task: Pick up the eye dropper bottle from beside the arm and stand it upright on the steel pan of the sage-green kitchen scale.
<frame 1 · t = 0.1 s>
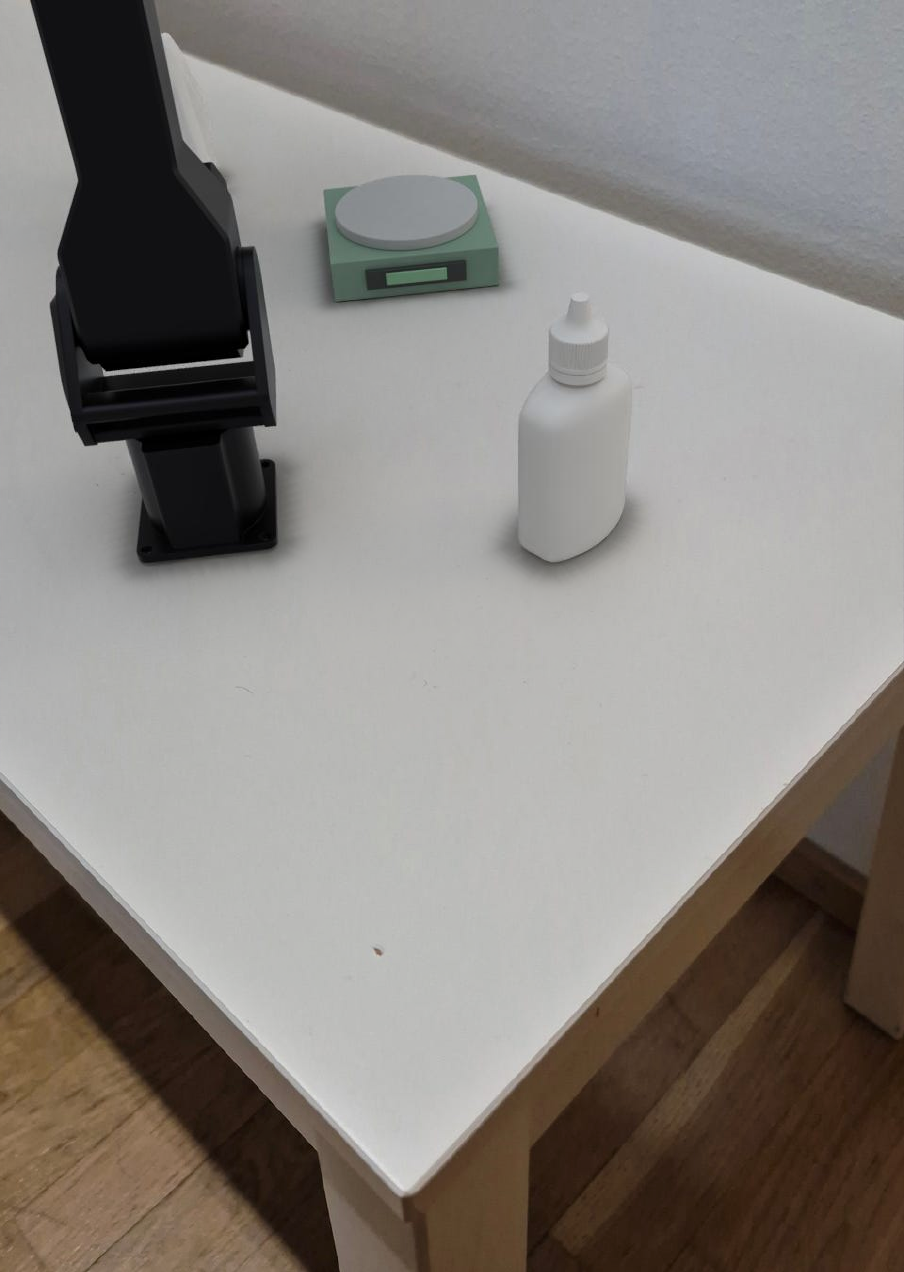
kitchen scale: (409, 254, 74), on the table
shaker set: (194, 208, 80), on the table
eye dropper bottle: (571, 532, 55), on the table
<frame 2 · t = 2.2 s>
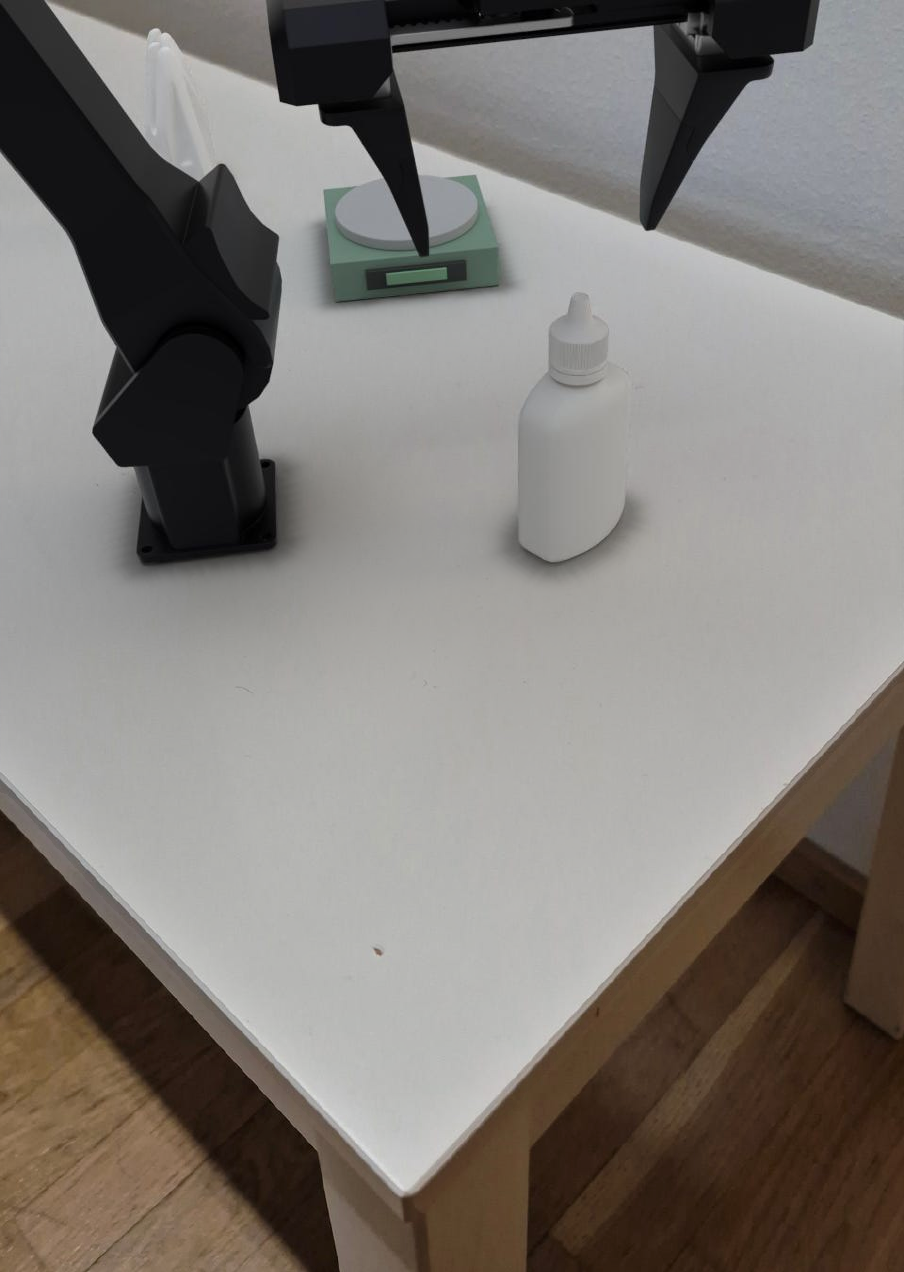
hand: (535, 239, 47), 13 cm above the table, tool pointing down, fingers open, 9 cm apart
nothing on the table moved.
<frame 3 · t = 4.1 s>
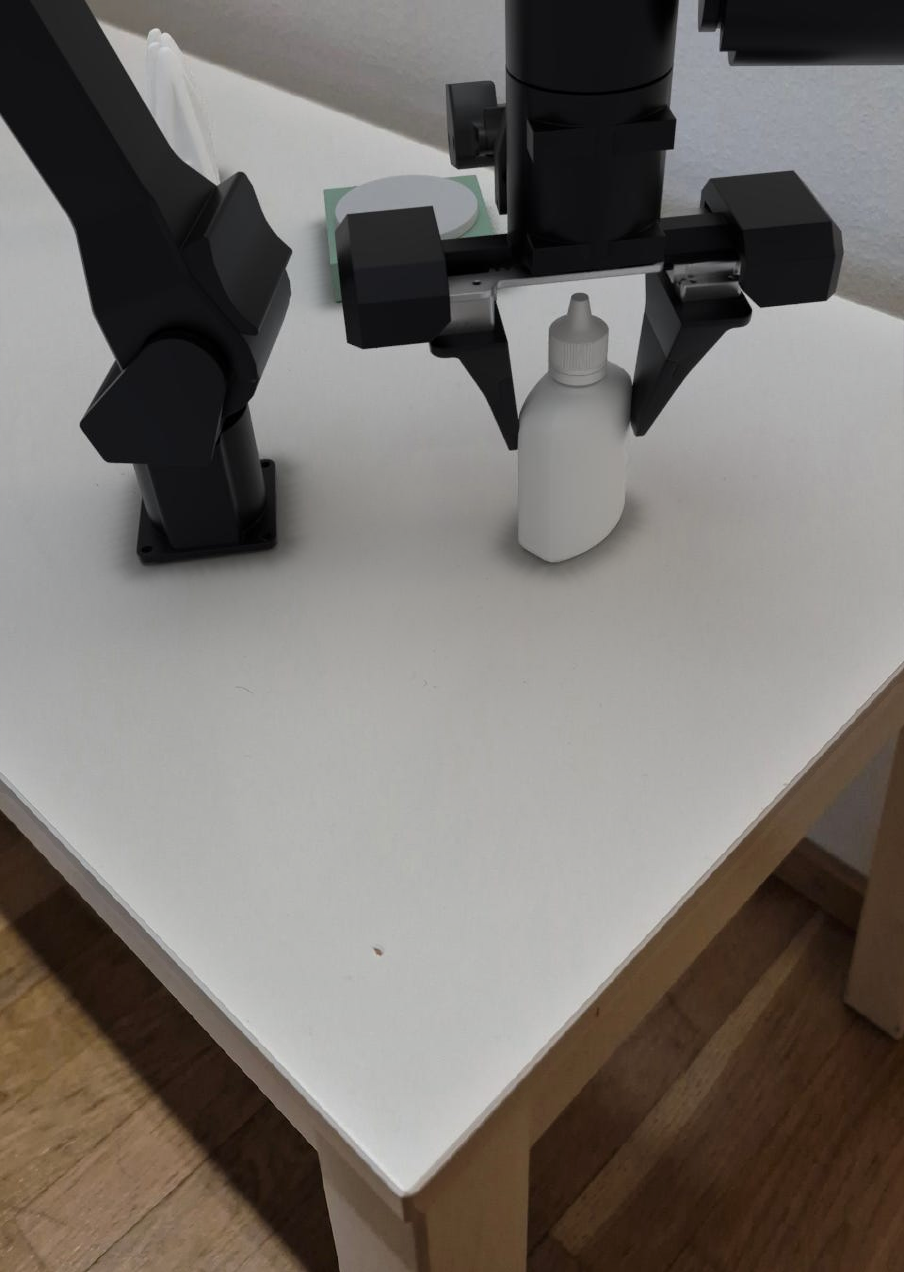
hand: (575, 437, 51), 5 cm above the table, tool pointing down, fingers closed on eye dropper bottle, 5 cm apart
eye dropper bottle: (571, 532, 55), on the table, touching gripper
everything else where it was.
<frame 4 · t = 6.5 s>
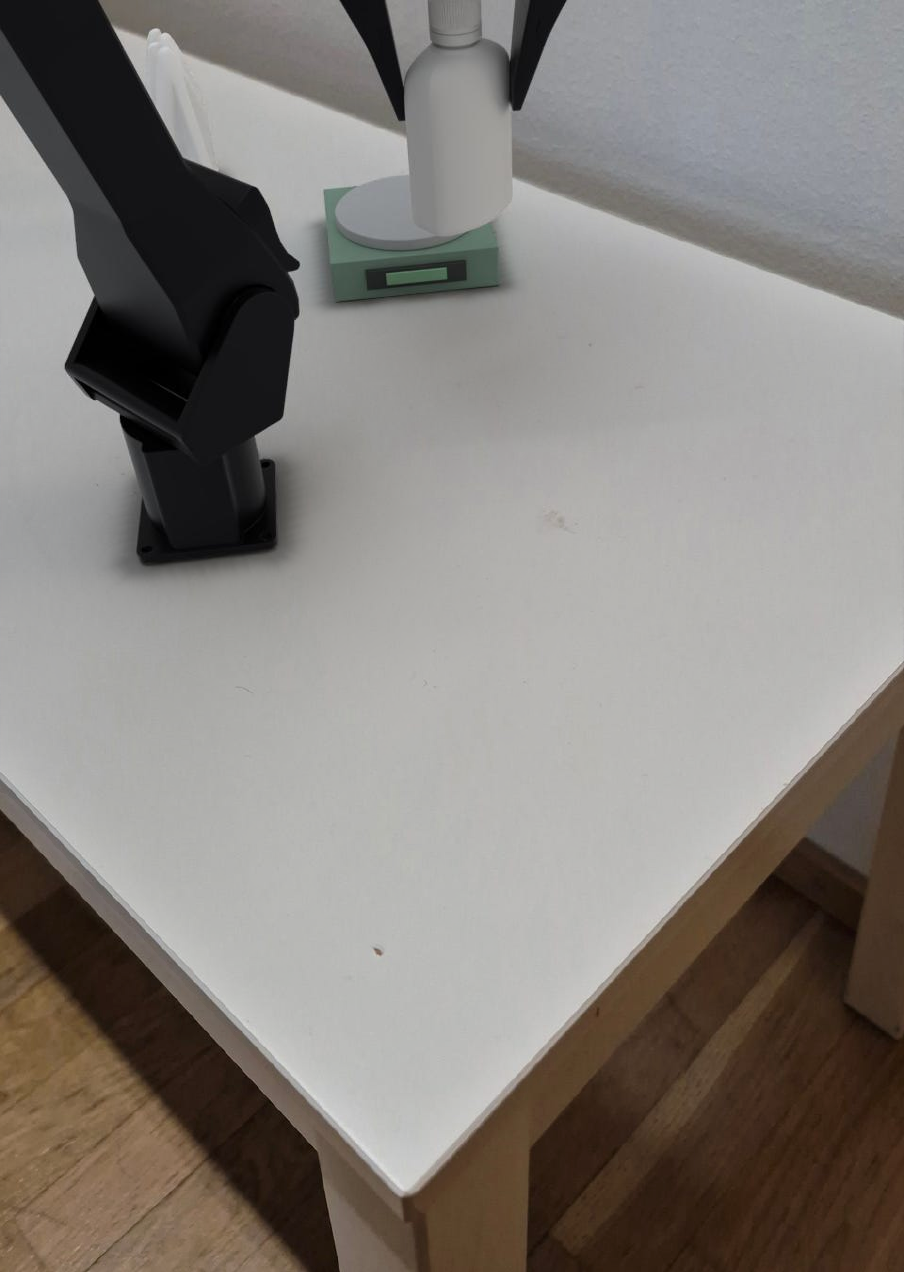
hand: (459, 112, 56), 13 cm above the table, tool pointing down, fingers closed on eye dropper bottle, 5 cm apart
eye dropper bottle: (463, 219, 60), point 8 cm above the table, touching gripper
everything else where it was.
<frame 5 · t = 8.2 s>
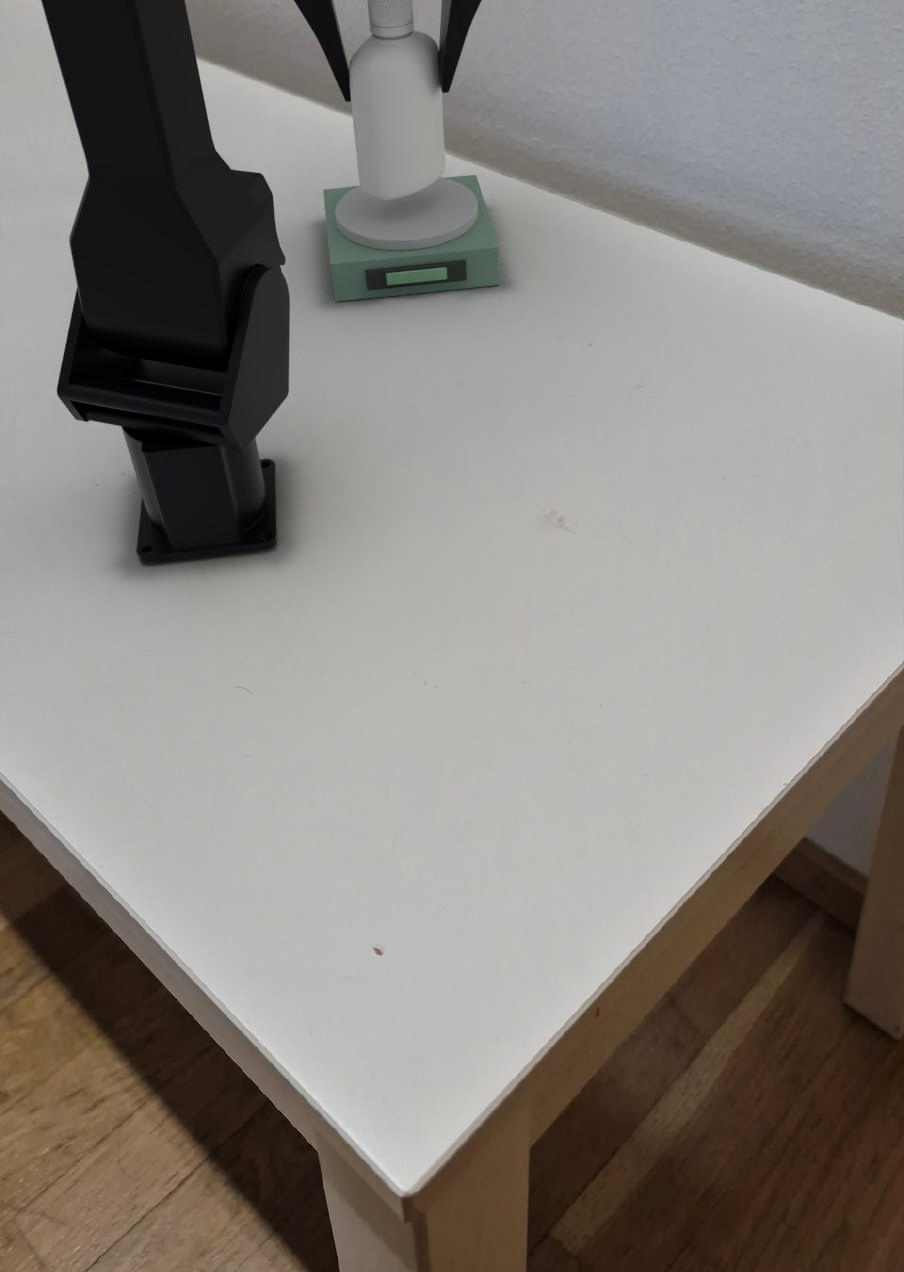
hand: (397, 94, 67), 10 cm above the table, tool pointing down, fingers closed on eye dropper bottle, 5 cm apart
eye dropper bottle: (403, 186, 70), point 4 cm above the table, touching gripper
everything else where it was.
when the fingers open (8 cm above the table, at t = 9.1 s): eye dropper bottle stays where it is, resting on kitchen scale.
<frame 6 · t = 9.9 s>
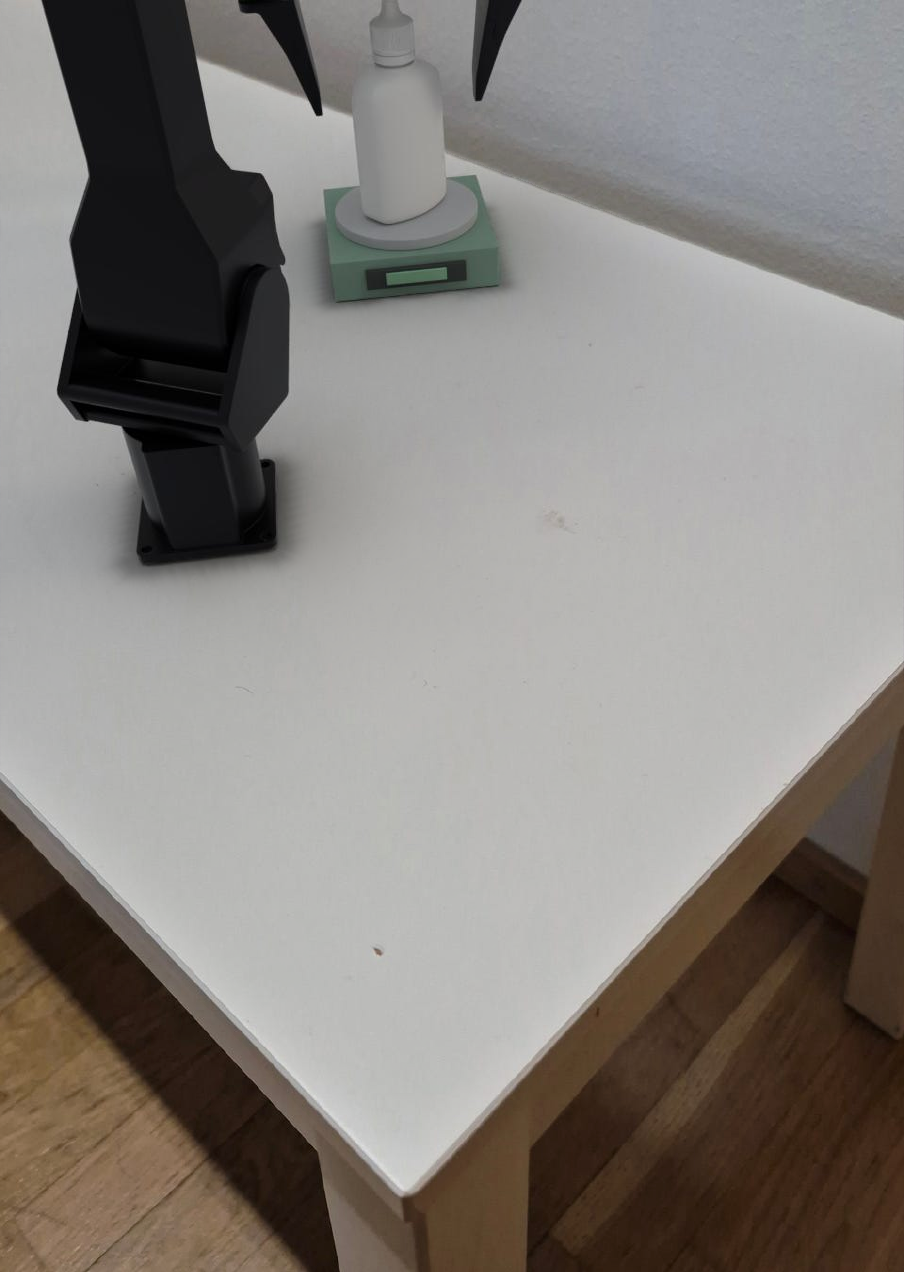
hand: (398, 106, 67), 9 cm above the table, tool pointing down, fingers open, 9 cm apart
eye dropper bottle: (405, 209, 72), point 3 cm above the table, touching kitchen scale
everything else where it was.
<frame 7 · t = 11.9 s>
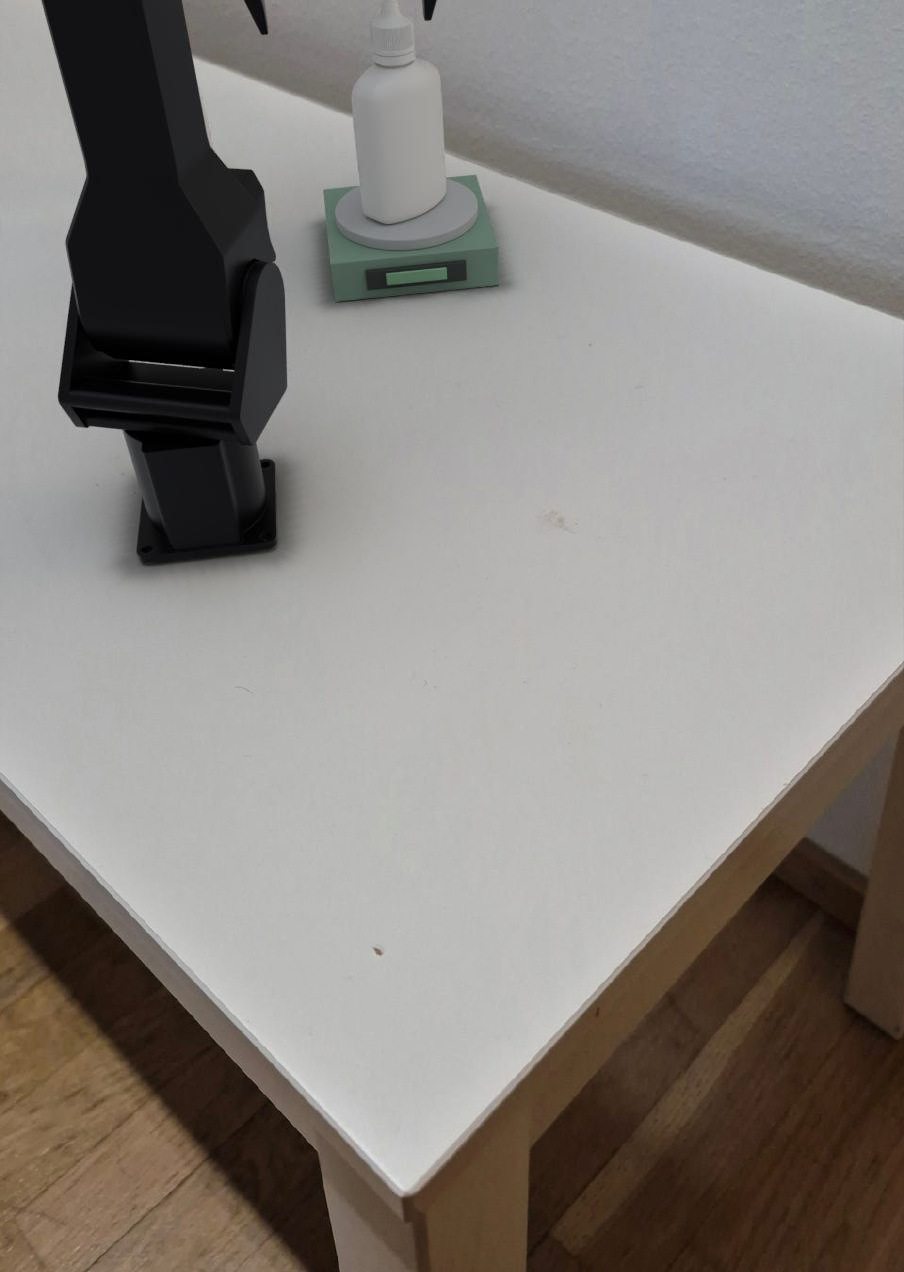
hand: (346, 25, 66), 13 cm above the table, tool pointing down, fingers open, 9 cm apart
nothing on the table moved.
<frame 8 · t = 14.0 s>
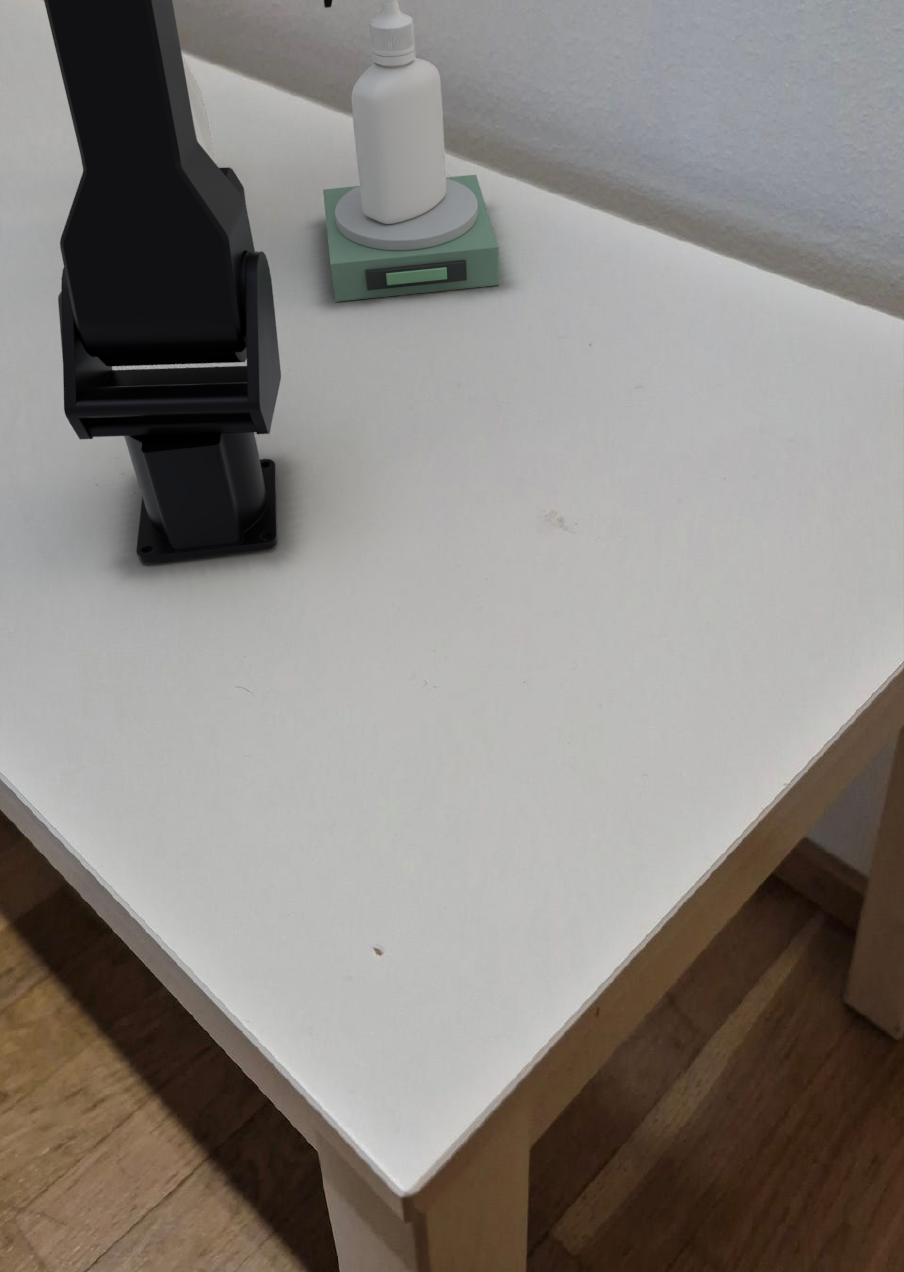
hand: (249, 12, 68), 13 cm above the table, tool pointing down, fingers open, 9 cm apart
nothing on the table moved.
at the end: eye dropper bottle inside the target area on the kitchen scale (0.1 cm from its centre), point 3.0 cm above the kitchen scale's base; eye dropper bottle tilted 0°; the gripper is holding nothing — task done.
